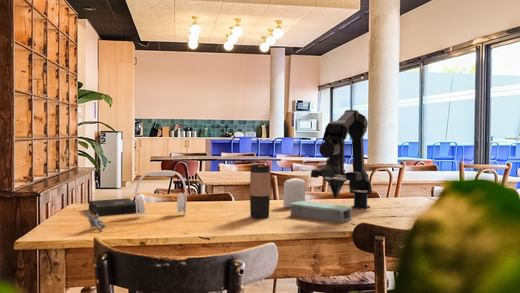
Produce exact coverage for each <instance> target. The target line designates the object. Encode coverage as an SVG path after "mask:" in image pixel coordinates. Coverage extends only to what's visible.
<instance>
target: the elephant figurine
mask: <svg viewBox="0 0 520 293" xmlns="http://www.w3.org/2000/svg"><path fill="white" fill-rule="evenodd" d="M83 213H84V214H85V215H86V216H87V217H88V222H89V224H90V230H92V229H93V228H96V229H97V230H98V231H99V233H102V232H103V230H102V229H103V228H105V227H106V225H107V224H106V223H104V220H100V217H101V216H98V213H97V215H95V214H94V215H92V214H90V210H88V211H87V210H84V212H83Z"/></svg>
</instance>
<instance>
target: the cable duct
mask: <svg viewBox="0 0 520 293" xmlns="http://www.w3.org/2000/svg"><path fill="white" fill-rule="evenodd" d="M290 216H291V217H296V218H303V219H304V218H305V219H311V220H318V221H325V222H326V221H327V222H331V223H332V222H334V223H339V224H340V223H341V224H343V223H345V222H349V221H350V220H352V209H350V210H347V211H344V212H338V215H333V214H330V211H329V210H321V209H313V208H305V207H300V210H294V209H293V206H291V207H290Z"/></svg>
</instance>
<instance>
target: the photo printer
mask: <svg viewBox="0 0 520 293" xmlns="http://www.w3.org/2000/svg"><path fill="white" fill-rule="evenodd" d="M298 201H306V181H305V180H304V179H301V178H295V177H294V178H289V179H287V180H285V181H284V183H283V207H284V208H291V206H290V203H294V202H298Z"/></svg>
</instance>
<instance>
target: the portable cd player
mask: <svg viewBox="0 0 520 293" xmlns="http://www.w3.org/2000/svg"><path fill="white" fill-rule="evenodd" d="M88 211H89V212H91V213H92V214H94V215H97V213H98V216H100V217H105V216H106V217H107V216H117V215H118V216H119V215H128V214H136V200H133V199H131V198H128V197H127V198H114V199H113V198H112V199H101V200H88ZM138 214H140V213H139V209H138Z"/></svg>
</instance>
